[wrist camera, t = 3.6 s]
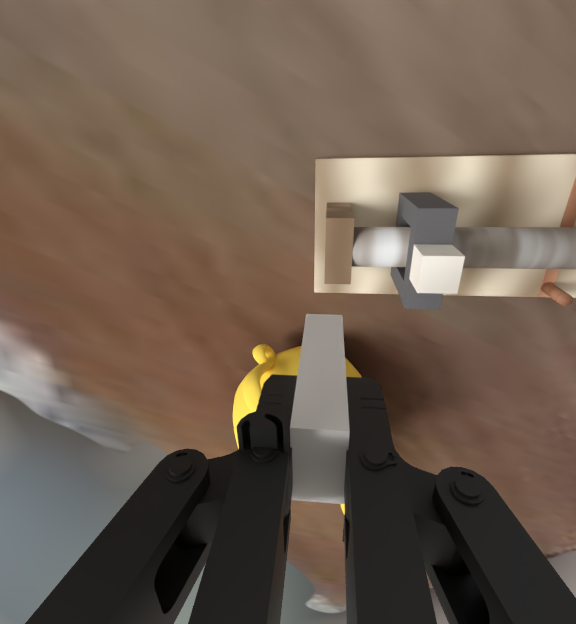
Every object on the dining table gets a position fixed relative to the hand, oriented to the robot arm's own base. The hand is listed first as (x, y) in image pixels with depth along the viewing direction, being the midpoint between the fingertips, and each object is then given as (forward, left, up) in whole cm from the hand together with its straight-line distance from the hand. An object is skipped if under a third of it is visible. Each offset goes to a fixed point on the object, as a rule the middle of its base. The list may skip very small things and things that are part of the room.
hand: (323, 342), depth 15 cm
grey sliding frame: (+7, 0, -17) cm, 19 cm away
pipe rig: (+13, 0, -20) cm, 24 cm away
